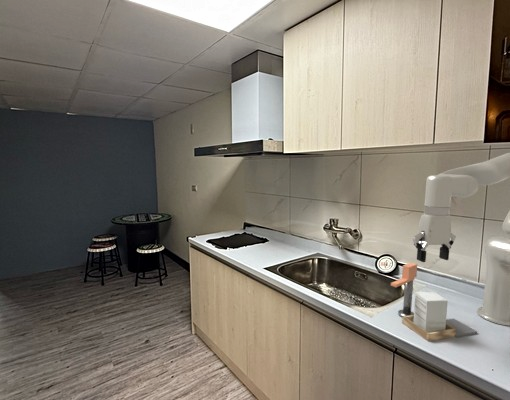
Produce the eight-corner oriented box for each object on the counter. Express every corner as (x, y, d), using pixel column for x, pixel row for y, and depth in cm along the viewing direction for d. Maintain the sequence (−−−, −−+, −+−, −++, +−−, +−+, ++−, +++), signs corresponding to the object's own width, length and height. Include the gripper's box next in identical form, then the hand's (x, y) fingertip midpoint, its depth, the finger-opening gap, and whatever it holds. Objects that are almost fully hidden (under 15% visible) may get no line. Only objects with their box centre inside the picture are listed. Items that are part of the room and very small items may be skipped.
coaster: (453, 320, 109) (453, 318, 109) (477, 333, 101) (477, 331, 101) (434, 323, 107) (434, 321, 107) (456, 337, 98) (456, 335, 98)
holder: (427, 318, 110) (428, 312, 110) (455, 336, 99) (456, 329, 99) (402, 322, 107) (402, 316, 107) (428, 341, 96) (428, 334, 96)
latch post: (407, 310, 116) (409, 276, 115) (419, 318, 111) (421, 282, 109) (394, 312, 115) (396, 277, 113) (406, 320, 109) (408, 283, 108)
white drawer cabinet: (431, 323, 107) (434, 291, 106) (445, 335, 100) (448, 300, 98) (412, 323, 107) (414, 291, 105) (424, 335, 100) (427, 300, 98)
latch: (416, 279, 112) (417, 264, 111) (396, 287, 104) (397, 271, 103) (410, 277, 114) (411, 262, 113) (390, 285, 106) (391, 269, 105)
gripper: (447, 209, 104) (442, 255, 106) (407, 210, 100) (403, 258, 102) (467, 212, 97) (462, 261, 99) (424, 213, 92) (420, 265, 94)
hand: (432, 259), depth 100 cm, fingers open, 9 cm apart
